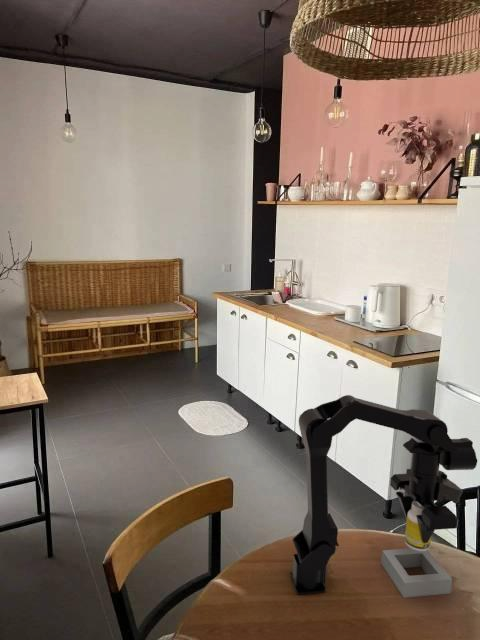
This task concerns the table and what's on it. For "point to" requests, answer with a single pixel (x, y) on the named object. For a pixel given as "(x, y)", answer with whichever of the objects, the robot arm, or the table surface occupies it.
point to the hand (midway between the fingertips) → (418, 534)
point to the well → (417, 584)
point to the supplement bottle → (415, 529)
